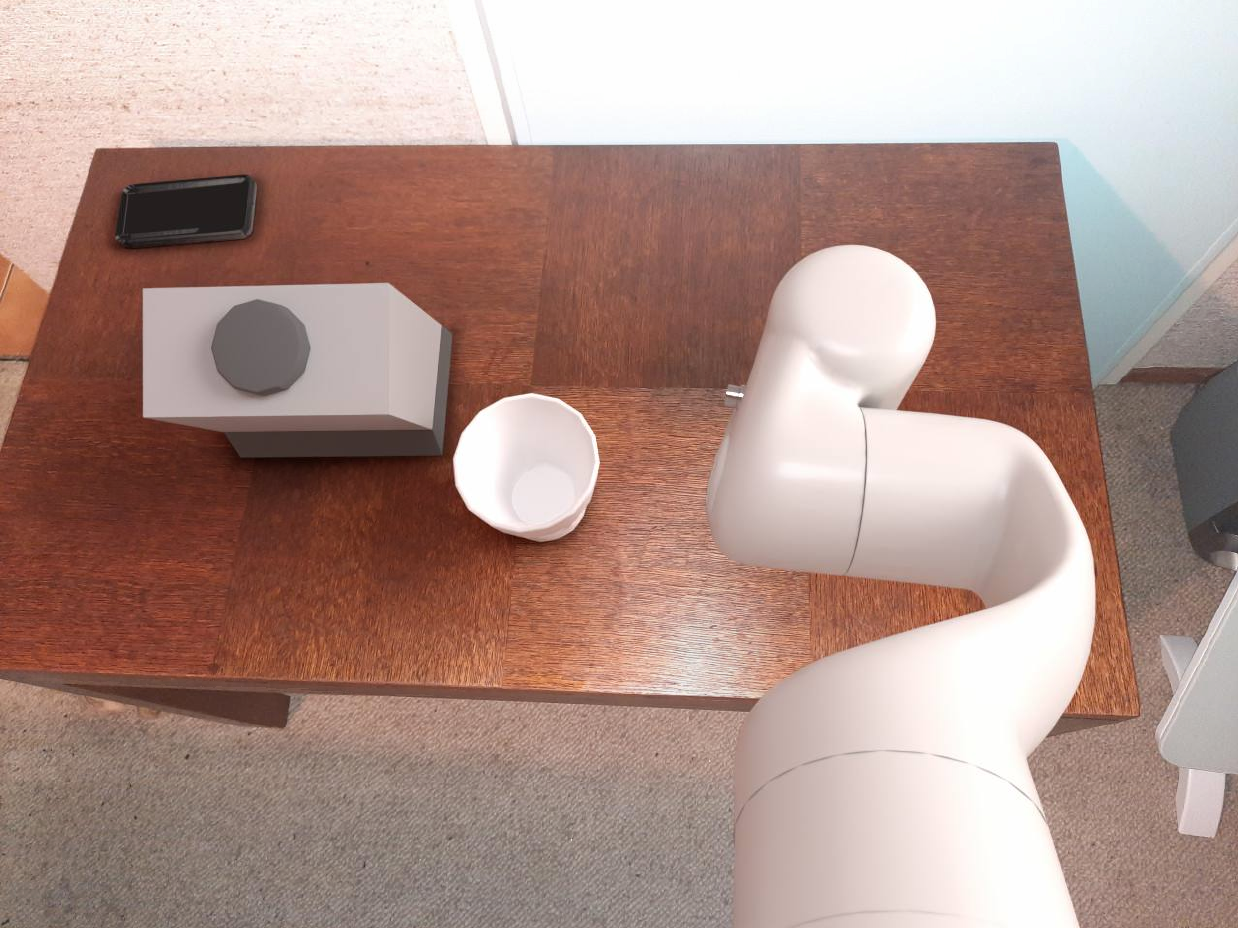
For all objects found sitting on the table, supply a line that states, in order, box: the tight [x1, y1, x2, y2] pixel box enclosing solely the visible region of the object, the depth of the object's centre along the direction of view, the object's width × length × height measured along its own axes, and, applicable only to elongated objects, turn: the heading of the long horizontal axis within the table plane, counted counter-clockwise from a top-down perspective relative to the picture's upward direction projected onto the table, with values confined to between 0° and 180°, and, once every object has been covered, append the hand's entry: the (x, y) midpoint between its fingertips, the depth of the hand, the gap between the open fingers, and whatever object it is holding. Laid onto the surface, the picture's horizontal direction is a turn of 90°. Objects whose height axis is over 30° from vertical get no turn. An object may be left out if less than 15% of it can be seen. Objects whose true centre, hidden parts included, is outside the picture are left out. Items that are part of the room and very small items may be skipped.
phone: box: [114, 173, 258, 249], centre depth 95 cm, size 8×1×15 cm
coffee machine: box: [142, 282, 454, 458], centre depth 77 cm, size 20×16×20 cm
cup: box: [452, 392, 600, 543], centre depth 77 cm, size 12×12×11 cm
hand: (777, 514), depth 66 cm, fingers closed
